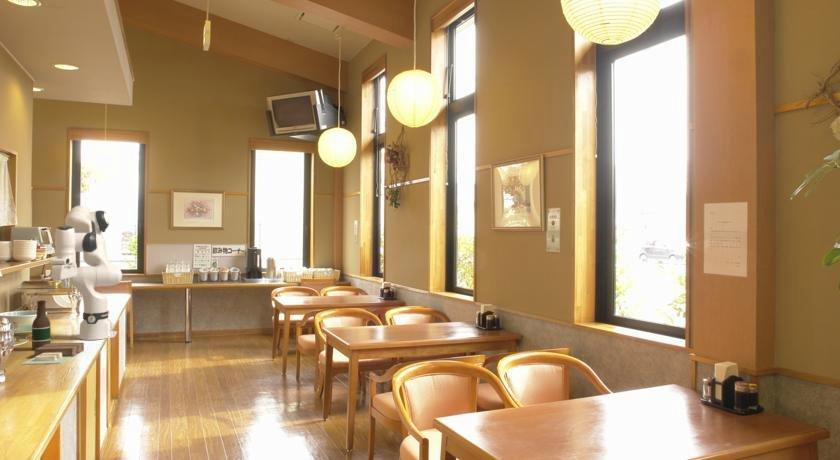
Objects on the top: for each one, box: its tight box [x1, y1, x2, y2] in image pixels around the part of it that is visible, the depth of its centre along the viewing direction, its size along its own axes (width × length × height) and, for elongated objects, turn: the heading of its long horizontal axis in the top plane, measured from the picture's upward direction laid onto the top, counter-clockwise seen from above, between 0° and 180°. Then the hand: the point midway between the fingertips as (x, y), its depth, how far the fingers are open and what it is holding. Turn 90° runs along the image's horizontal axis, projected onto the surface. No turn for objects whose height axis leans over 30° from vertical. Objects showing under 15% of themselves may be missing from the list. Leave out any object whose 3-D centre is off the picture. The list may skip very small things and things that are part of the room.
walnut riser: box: [34, 342, 85, 358], centre depth 282 cm, size 14×16×4 cm
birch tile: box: [34, 352, 62, 361], centre depth 271 cm, size 8×8×2 cm
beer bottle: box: [31, 299, 52, 351], centre depth 293 cm, size 8×8×24 cm
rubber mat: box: [21, 357, 72, 366], centre depth 269 cm, size 12×16×1 cm
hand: (65, 287), depth 287 cm, fingers closed
